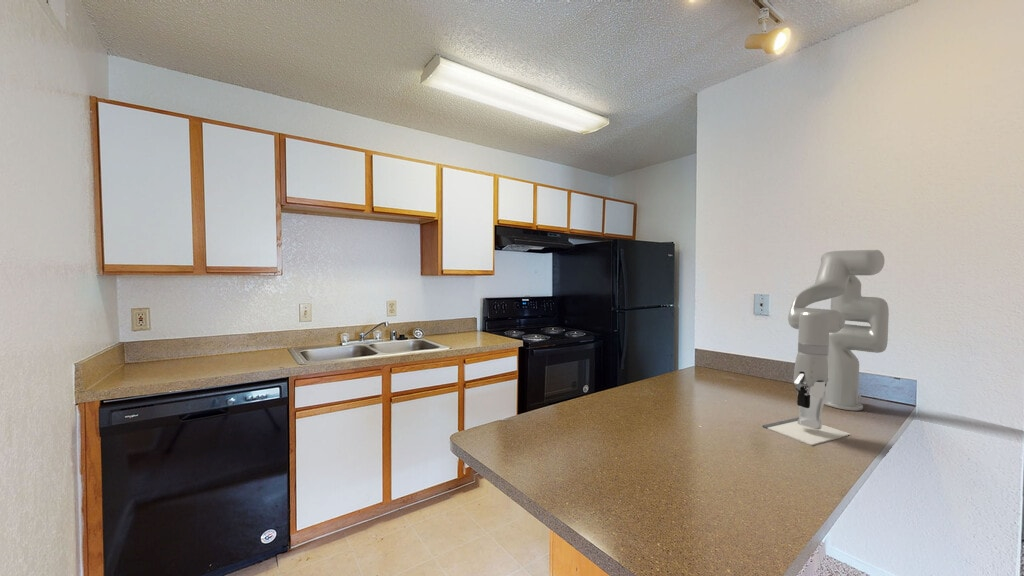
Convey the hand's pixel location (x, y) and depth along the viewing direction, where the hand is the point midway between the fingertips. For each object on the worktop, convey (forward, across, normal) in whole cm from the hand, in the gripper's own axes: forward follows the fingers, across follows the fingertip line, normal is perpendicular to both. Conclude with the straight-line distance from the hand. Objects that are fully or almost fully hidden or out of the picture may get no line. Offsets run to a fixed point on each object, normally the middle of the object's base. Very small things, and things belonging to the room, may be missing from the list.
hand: (810, 404), depth 118 cm
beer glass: (+7, 0, 0) cm, 7 cm away
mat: (+9, 0, -1) cm, 9 cm away
